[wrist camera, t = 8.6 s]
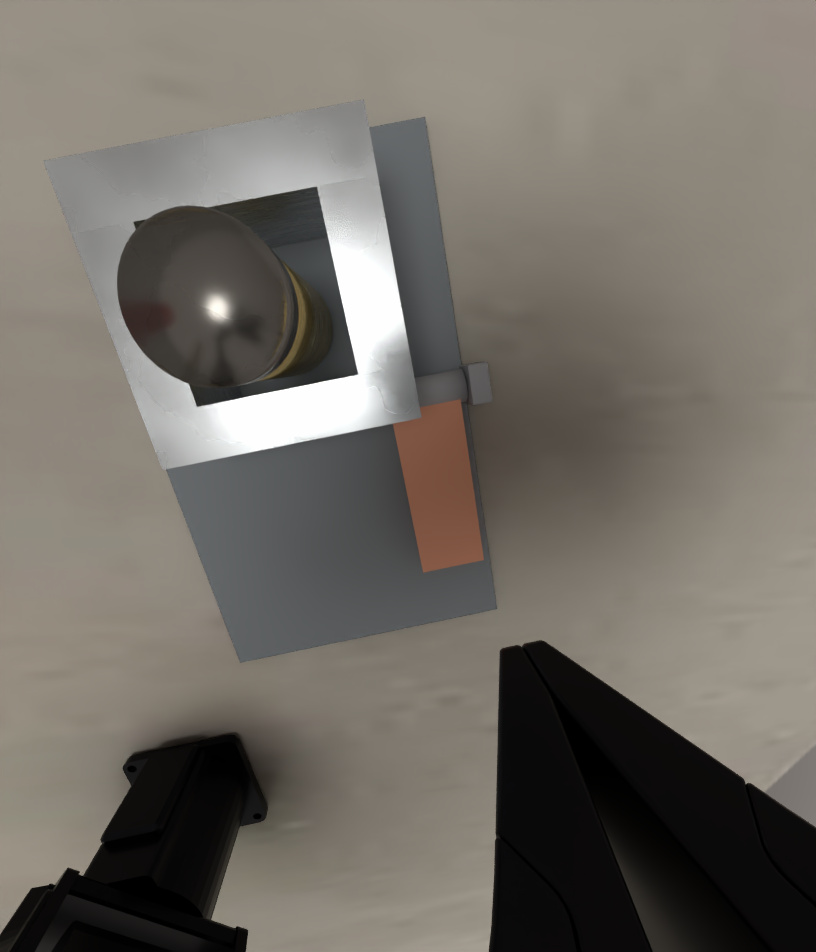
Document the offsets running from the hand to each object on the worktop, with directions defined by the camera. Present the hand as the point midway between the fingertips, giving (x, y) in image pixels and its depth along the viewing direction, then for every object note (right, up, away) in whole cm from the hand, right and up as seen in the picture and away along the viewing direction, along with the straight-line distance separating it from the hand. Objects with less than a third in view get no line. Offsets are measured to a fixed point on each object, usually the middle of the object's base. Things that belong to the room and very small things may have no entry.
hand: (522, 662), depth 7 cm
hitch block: (-7, +10, +9) cm, 16 cm away
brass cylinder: (-7, +10, +9) cm, 15 cm away
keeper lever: (-1, +4, +11) cm, 12 cm away
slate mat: (-6, +6, +10) cm, 13 cm away
